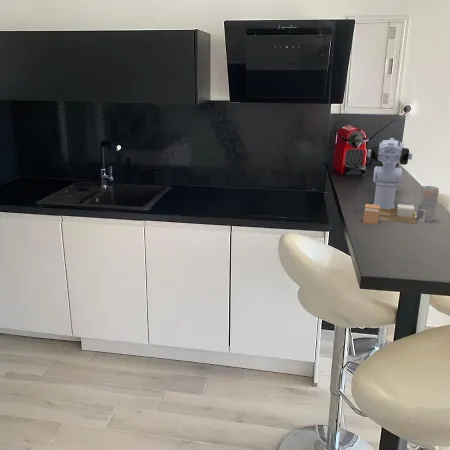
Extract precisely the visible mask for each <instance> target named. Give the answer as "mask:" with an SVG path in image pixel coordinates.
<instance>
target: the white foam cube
mask: <svg viewBox="0 0 450 450" xmlns="http://www.w3.org/2000/svg"><path fill="white" fill-rule="evenodd" d="M414 206H415V205H413V204H412V205H411V204H402V203H397V207H396V209H397V214H398V216H407V217H413V212H415V207H414Z"/></svg>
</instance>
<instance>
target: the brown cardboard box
mask: <svg viewBox="0 0 450 450" xmlns="http://www.w3.org/2000/svg"><path fill="white" fill-rule="evenodd" d="M379 210H380V205H373V203H372V204H370V203H366V204H365V206H364V211H363V220H362V221H363V222H362V223H363V224H373V225H378V224H379V220H378V218H379Z"/></svg>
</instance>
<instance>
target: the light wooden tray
mask: <svg viewBox="0 0 450 450" xmlns="http://www.w3.org/2000/svg"><path fill="white" fill-rule="evenodd" d="M417 217H418V216H417V212H416V211H414V212H413V217H407V216H398V214H397V208H396V207H395V208H391V209H384V208H380V210H379V218H378V221H387V222H396V223H404V224H414V225H416V224H417Z"/></svg>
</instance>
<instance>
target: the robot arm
mask: <svg viewBox="0 0 450 450" xmlns="http://www.w3.org/2000/svg"><path fill="white" fill-rule="evenodd" d="M366 156H367V157H370V158H369V161H370V163H375V164H376V163H378V161H380V162H381V163H382V165H383V166H377V165H376V166H375V167H374V169H373V178H372V181H373V183H375V192H374V200H373V201H374V202H373V203H372V204H373V205H380V208H384V209H391V208H395V209H396V207H395V206H396V205H395V199H396V190H397V186H399V185H400V184H401V182H402V174H403V169H402V168H401V167H396V165H397V164H398V163H399V165H403V166H404V165H407V164H408V162H409V160H410V161H412V159H413V152H410V149H409V148H407V147H405V144H404V143H403V142H402V141H401V140H396V139H395V138H394V137H390V138H389V139H383V140H382V141H380V143H379V146H377V145H373V146H371V149H368V150H367V155H366Z"/></svg>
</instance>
